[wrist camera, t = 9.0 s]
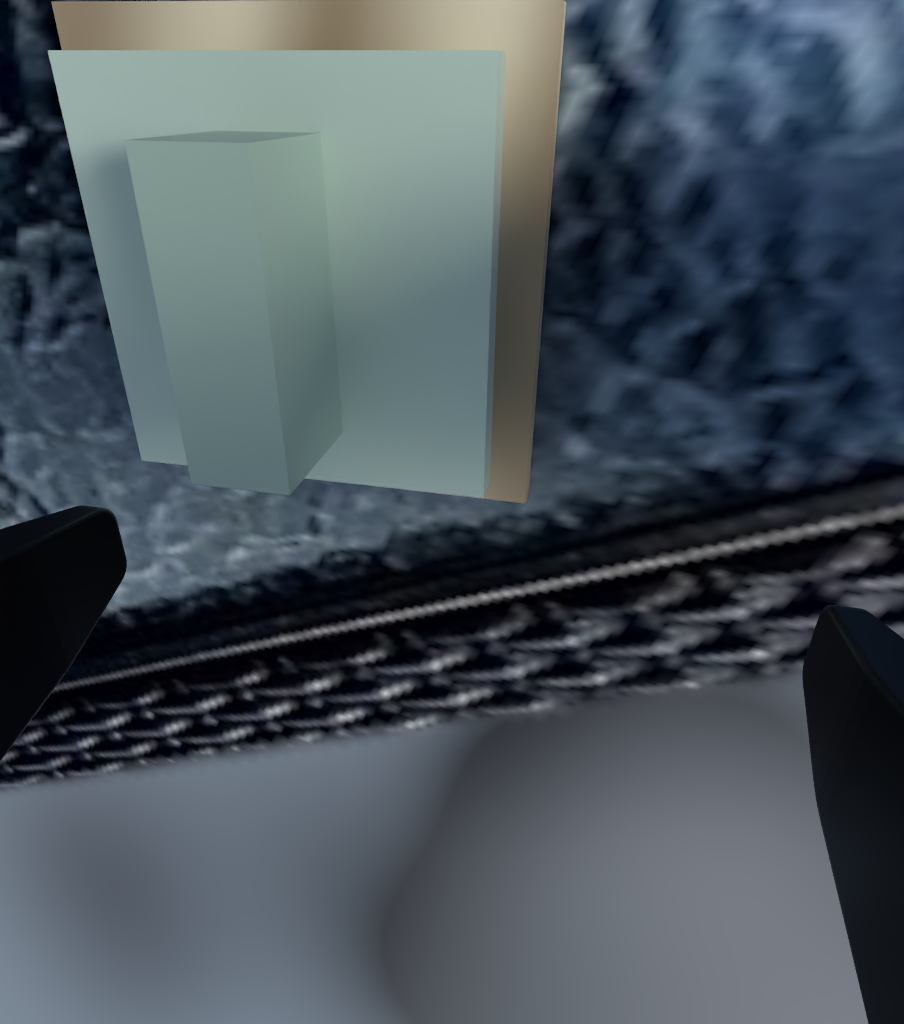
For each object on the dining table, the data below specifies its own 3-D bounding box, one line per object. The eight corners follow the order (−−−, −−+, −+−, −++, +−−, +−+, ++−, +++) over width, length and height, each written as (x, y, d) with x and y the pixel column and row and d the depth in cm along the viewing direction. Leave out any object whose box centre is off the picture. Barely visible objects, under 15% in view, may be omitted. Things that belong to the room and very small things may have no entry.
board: (566, 3, 16) (563, -1, 15) (528, 490, 22) (525, 503, 21) (73, 4, 18) (51, 1, 17) (163, 449, 24) (150, 460, 23)
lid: (511, 53, 16) (463, 40, 11) (494, 468, 21) (456, 572, 16) (98, 53, 18) (-86, 42, 13) (174, 435, 23) (61, 521, 18)
